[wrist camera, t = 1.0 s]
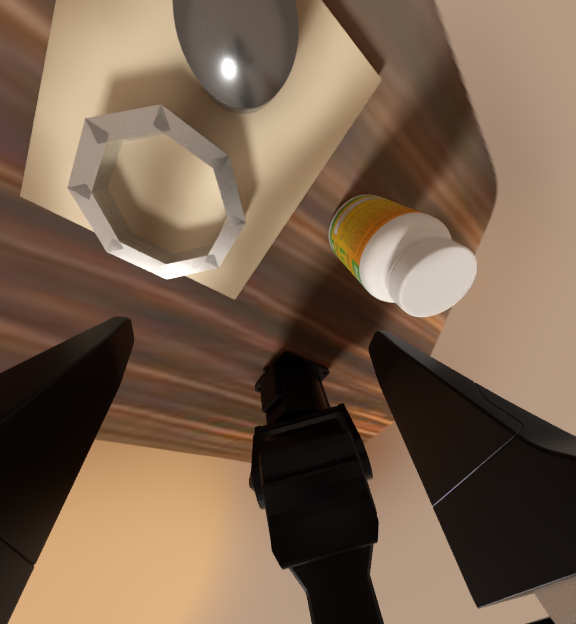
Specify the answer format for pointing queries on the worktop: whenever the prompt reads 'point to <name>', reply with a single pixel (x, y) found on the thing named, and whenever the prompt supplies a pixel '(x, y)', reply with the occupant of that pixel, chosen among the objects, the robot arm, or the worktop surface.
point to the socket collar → (104, 211)
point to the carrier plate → (201, 115)
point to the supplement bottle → (401, 255)
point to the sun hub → (238, 48)
